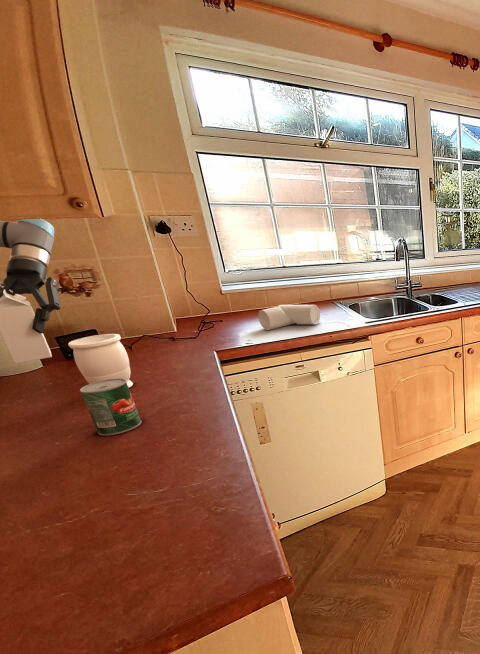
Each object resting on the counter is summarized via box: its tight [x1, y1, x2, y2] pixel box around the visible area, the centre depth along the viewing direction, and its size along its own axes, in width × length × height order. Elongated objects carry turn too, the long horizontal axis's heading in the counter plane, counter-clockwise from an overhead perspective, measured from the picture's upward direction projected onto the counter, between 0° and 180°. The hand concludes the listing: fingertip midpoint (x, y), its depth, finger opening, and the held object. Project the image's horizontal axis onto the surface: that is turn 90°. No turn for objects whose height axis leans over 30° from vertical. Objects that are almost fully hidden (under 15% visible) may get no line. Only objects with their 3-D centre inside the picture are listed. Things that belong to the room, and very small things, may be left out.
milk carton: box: [0, 289, 53, 364], centre depth 116 cm, size 7×7×19 cm
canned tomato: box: [79, 378, 142, 437], centre depth 98 cm, size 8×8×11 cm
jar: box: [68, 333, 134, 389], centre depth 118 cm, size 11×10×15 cm
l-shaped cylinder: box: [257, 304, 321, 331], centre depth 179 cm, size 18×11×20 cm
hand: (13, 332), depth 114 cm, fingers closed on milk carton, 9 cm apart
